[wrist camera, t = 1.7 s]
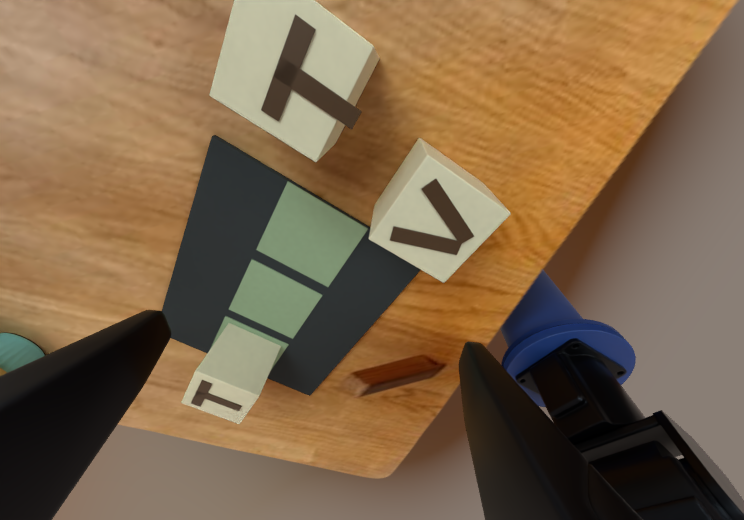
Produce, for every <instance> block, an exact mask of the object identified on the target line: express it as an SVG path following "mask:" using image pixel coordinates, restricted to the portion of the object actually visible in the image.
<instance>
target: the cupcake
mask: <svg viewBox="0 0 744 520" xmlns="http://www.w3.org/2000/svg"><path fill="white" fill-rule="evenodd" d="M43 356H45V355H44V353H43V351H42V350H41V349H40V348H39V347H38V346H37V345H35V344H34V343H32V342H31V341H29V340H27V339H25V338H23V337H21V336H18V335H15V334H10V333H0V376H1V375H4V374H6V373H8V372H10V371H12V370H15V369H17V368H19V367H21V366H23V365H26V364H28V363H30V362H32V361H34V360H37V359H39V358H41V357H43Z"/></svg>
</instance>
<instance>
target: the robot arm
mask: <svg viewBox="0 0 744 520" xmlns="http://www.w3.org/2000/svg"><path fill="white" fill-rule="evenodd" d="M170 337H171V329H170V326H169V324H168V321H167V319H166V317H165V314H164V313H163V312H162V311H155V310H146V311H143V312H141V313H139V314H136V315H134V316H132V317H130V318H127V319H125V320H123V321H121V322H119V323H116V324H114V325H112V326H110V327H108V328H105V329H103V330H101V331H99V332H96V333H94V334H92V335H90V336H88V337H85V338H83V339H81V340H79V341H77V342H74V343H72V344H70V345H68V346H65V347H63V348H61V349H59V350H57V351H54V352H52V353H50V354H48V355H46V356H43V357H41V358H39V359H37V360H34V361H32V362H30V363H28V364H26V365H23V366H21V367H19V368H17V369H15V370H12V371H10V372H8V373H6V374H4V375H1V376H0V520H52V519H53V517H54V516H55V514H56V513H57V511H58V510H59V508H60V507H61V506H62V504H63V503H64V501H65V500H66V498H67V497H68V495H69V494H70V492H71V491H72V490H73V488H74V487H75V485H76V484H77V482H78V481H79V479H80V478H81V476H82V475H83V474H84V472H85V471H86V469H87V468H88V466H89V465H90V463H91V462H92V460H93V459H94V457H95V456H96V454H97V453H98V452H99V450H100V449H101V447H102V446H103V444H104V443H105V442H106V440H107V439H108V437H109V436H110V434H111V433H112V431H113V430H114V428H115V427H116V426H117V424H118V423H119V421H120V420H121V418H122V417H123V415H124V414H125V412H126V411H127V410H128V408H129V407H130V405H131V404H132V402H133V401H134V399H135V398H136V396H137V395H138V394H139V392H140V390H141V389H142V387H143V386H144V384H145V382H146V381H147V379H148V377H149V376H150V374H151V372H152V370H153V368H154V367H155V365H156V363H157V361H158V359H159V358H160V356H161V354H162V352H163V351H164V349H165V347H166V345H167V343H168V342H169V340H170ZM626 373H627V371H626V369H625V368H624V367H623V366H622V365H620V364H619V363H617V362H615V361H614V360H612V359H610V358H609V357H607V356H606V355H604V354H602V353H601V352H599V351H597V350H596V349H594V348H592V347H591V346H589V345H588V344H586V343H584V342H583V341H581V340H579V339H577V338H573V339H570V340H568V341H567V342H565V343H564V344H562V345H561V346H559V347H558V348H556V349H555V350H553V351H552V352H550V353H549V354H547V355H546V356H544V357H543V358H541V359H540V360H538V361H537V362H535V363H534V364H532V365H531V366H529V367H528V368H526V369H525V370H524V371H522V372H521V373H519V374H518V375H516V377H515V379H516V381H517V382H516V381H515V380H514V379H513V378H512V377H511V375H510V374H509V373H508V372H507V371H506V370H505V369H504V368H503V367H502V366H501V365H500V363H499V362H498V361H497V360H496V359H495V358H494V357H493V356H492V355H491V354H490V352H489V351H488V350H487V349H486V348H485V347H484V346H483V345H482V344H481V343H477V342H466V343H465V345H464V348H463V351H462V354H461V357H460V360H459V374H460V384H461V394H462V403H463V412H464V421H465V426H466V431H467V436H468V441H469V445H470V450H471V455H472V459H473V464H474V468H475V474H476V478H477V483H478V488H479V492H480V497H481V502H482V507H483V511H484V516H485V520H744V500H743V499H742V497H741V496H740V495H739V493H738V492H737V491H736V489H735V488H734V486H733V485H732V484H731V482H730V481H729V479H728V478H727V477H726V475H725V474H724V473H723V472H722V471H721V470H720V469H719V467H718V466H717V465H716V464H715V463H714V462H713V460H712V459H711V458H710V457H709V456H708V455H707V454H706V453H705V451H704V450H703V449H702V448H701V447H700V446H699V445H698V444H697V442H696V441H695V440H694V439H693V438H692V437H691V436H690V435H689V434H688V433H686V432H685V431H684V430H683V429H682V428H681V427H680V426H679V425H677V424H676V423H675V422H674V421H673V420H672V419H671V418H670V417H669V416H667V415H666V414H665V413H664V412H663V411H662V410H661V411H658V412H655V413H653V415H652V416H649V417H647V418H645V417H644V416H643V414H642V413H641V411H640V410H639V409H638V407H637V406H636V405H635V403H634V402H633V401H632V400H631V398H630V397H629V395H628V394H627V393H626V391H625V390H624V389H623V387H622V386H621V385H620V383H619V382H618V381H617V380H616V379H618V378H620V377H622V376H624V375H625V374H626ZM519 384H520V385H522V386H524V387H526V388H528V389H529V390H531V391H533V392H535V393H537V394H539V395H541V398H542V400H543V402H544V404H545V406H546V408H547V410H548V412H549V414H550V416H551V418H552V420H553V422H554V423H553V422H552V421H551V420H550V418H549V417H548V416H547V415H546V414H545V413H544V412H543V411H542V410H541V409H540V407H539V406H538V405H537V404H536V403H535V402H534V401H533V400H532V399H531V398H530V396H529V395H528V394H527V393H526V392H525V391H524V390H523V389H522V388H521V387H520V385H519ZM680 455H683V456H684V458H682V459H679V460H678V459H677V458H675V457H676V456H680Z"/></svg>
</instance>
